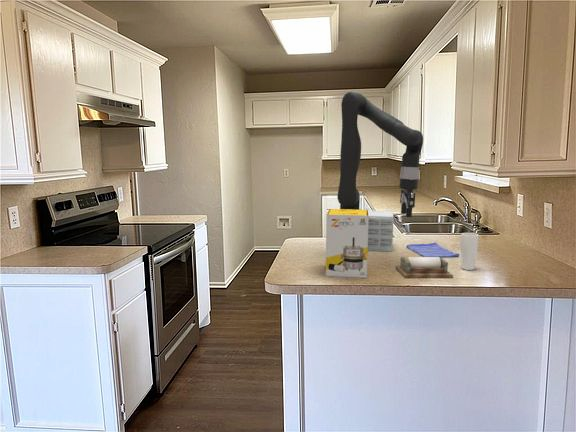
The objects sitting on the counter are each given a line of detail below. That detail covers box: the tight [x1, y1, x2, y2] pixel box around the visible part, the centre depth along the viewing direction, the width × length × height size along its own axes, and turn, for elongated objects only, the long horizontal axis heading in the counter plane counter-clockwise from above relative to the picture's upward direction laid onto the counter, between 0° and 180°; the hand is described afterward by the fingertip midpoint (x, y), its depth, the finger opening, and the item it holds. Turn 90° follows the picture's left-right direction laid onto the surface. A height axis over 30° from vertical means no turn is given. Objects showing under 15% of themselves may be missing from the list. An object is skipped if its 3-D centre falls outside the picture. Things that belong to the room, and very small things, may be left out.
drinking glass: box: [460, 232, 480, 271], centre depth 176 cm, size 7×7×15 cm
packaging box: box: [325, 208, 369, 279], centre depth 172 cm, size 16×16×25 cm
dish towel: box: [406, 242, 461, 259], centre depth 207 cm, size 17×24×3 cm
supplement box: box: [368, 210, 395, 253], centre depth 215 cm, size 17×13×18 cm
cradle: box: [395, 256, 454, 279], centre depth 171 cm, size 19×14×6 cm
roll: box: [406, 256, 441, 268], centre depth 171 cm, size 13×6×6 cm, turn 89°
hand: (406, 215), depth 179 cm, fingers open, 8 cm apart
